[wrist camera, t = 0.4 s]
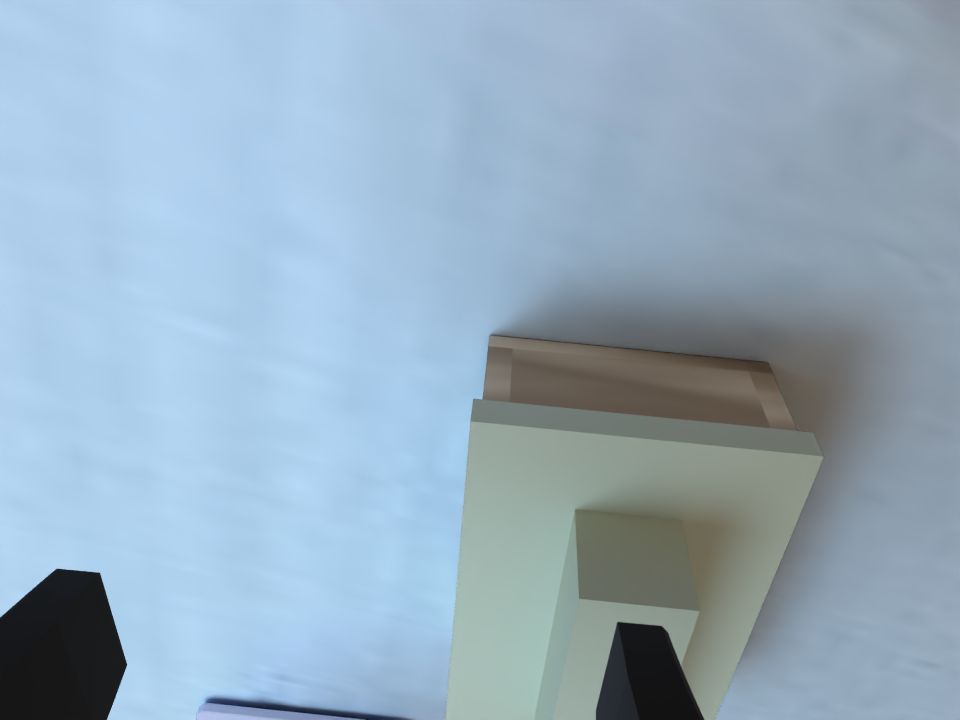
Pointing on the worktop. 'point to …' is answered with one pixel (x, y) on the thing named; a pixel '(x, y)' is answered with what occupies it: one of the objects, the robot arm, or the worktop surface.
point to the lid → (612, 550)
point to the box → (634, 382)
